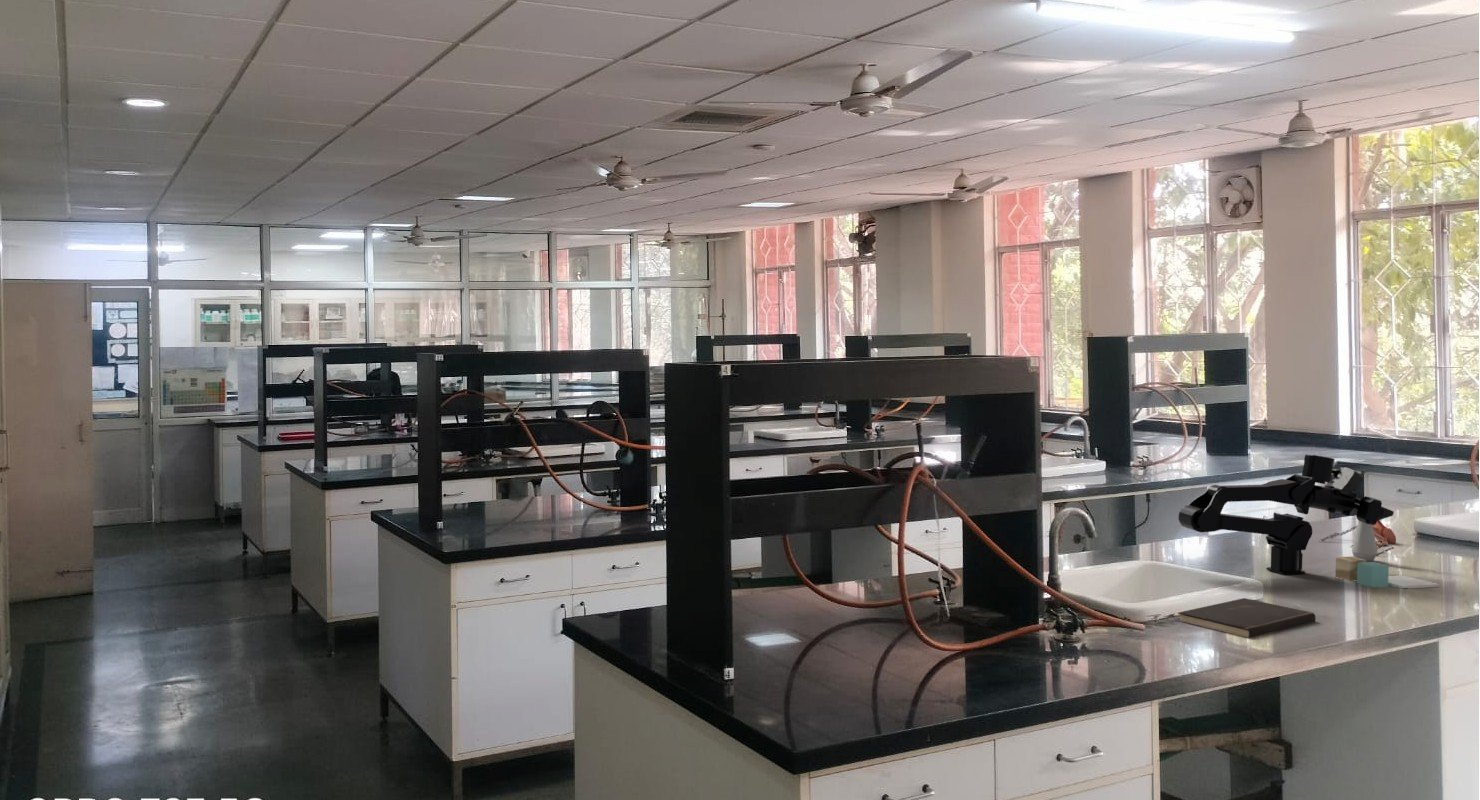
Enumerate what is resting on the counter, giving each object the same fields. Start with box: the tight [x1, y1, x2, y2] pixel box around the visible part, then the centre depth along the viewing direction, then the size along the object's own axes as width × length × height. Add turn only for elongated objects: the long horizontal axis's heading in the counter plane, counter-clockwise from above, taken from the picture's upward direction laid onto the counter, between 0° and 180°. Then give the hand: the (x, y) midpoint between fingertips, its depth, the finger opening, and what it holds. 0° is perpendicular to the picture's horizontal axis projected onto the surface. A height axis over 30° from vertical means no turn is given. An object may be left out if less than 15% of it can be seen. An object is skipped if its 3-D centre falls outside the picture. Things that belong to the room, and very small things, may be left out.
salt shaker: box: [1351, 516, 1378, 562], centre depth 291 cm, size 6×6×13 cm
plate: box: [1388, 574, 1439, 589], centre depth 265 cm, size 10×10×1 cm
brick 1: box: [1334, 556, 1366, 582], centre depth 270 cm, size 4×4×5 cm
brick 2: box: [1356, 561, 1390, 588], centre depth 263 cm, size 4×4×5 cm
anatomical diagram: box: [1320, 520, 1397, 557], centre depth 310 cm, size 21×9×25 cm
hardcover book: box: [1177, 597, 1317, 639], centre depth 230 cm, size 16×23×2 cm
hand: (1380, 508), depth 280 cm, fingers open, 9 cm apart
